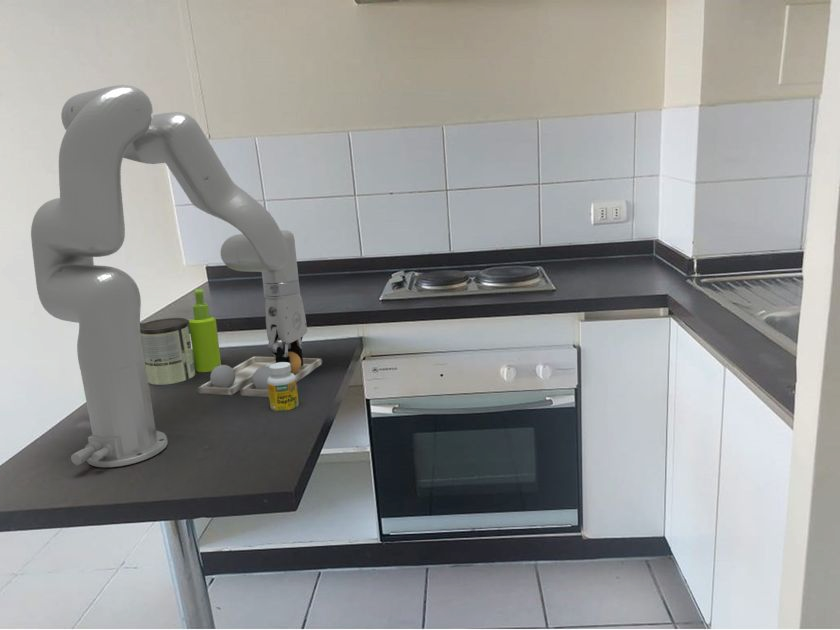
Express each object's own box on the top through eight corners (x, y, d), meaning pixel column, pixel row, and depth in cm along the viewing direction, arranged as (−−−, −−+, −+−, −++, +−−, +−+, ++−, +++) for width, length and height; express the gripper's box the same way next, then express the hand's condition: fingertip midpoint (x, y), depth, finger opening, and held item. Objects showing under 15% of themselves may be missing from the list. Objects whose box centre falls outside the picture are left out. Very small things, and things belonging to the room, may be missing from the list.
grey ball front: (271, 394, 124) (269, 371, 123) (249, 393, 125) (246, 370, 124) (283, 386, 129) (281, 363, 128) (262, 385, 130) (259, 362, 129)
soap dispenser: (221, 367, 150) (211, 286, 146) (222, 375, 143) (212, 290, 139) (195, 371, 148) (184, 289, 144) (196, 379, 141) (184, 293, 137)
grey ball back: (228, 392, 127) (225, 369, 126) (207, 391, 128) (203, 368, 127) (241, 384, 131) (238, 362, 130) (220, 383, 133) (217, 361, 132)
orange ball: (295, 378, 134) (293, 355, 133) (275, 377, 135) (272, 355, 134) (306, 370, 138) (304, 349, 137) (286, 370, 140) (283, 348, 139)
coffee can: (145, 382, 142) (135, 323, 139) (191, 373, 147) (183, 315, 144) (151, 394, 133) (141, 331, 130) (200, 384, 138) (191, 323, 135)
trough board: (276, 406, 122) (275, 393, 121) (193, 401, 127) (192, 389, 127) (326, 368, 144) (325, 357, 144) (254, 365, 150) (253, 355, 149)
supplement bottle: (293, 405, 122) (288, 358, 120) (304, 413, 117) (299, 365, 115) (267, 412, 119) (261, 364, 117) (276, 420, 114) (271, 371, 112)
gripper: (278, 296, 124) (287, 383, 128) (314, 281, 139) (322, 359, 143) (244, 297, 126) (255, 382, 130) (284, 281, 142) (293, 358, 146)
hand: (290, 369), depth 137 cm, fingers closed on orange ball, 4 cm apart
